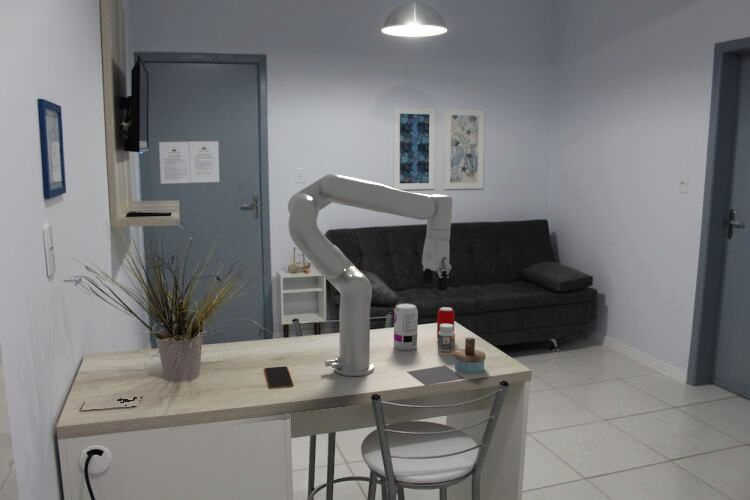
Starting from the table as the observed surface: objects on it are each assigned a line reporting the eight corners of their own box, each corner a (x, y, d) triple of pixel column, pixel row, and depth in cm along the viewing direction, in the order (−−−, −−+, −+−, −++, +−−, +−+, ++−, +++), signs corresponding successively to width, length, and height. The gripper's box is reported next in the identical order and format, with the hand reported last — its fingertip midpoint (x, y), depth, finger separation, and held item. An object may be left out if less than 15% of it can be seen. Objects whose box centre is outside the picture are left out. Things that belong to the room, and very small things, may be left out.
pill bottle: (455, 356, 212) (456, 327, 210) (438, 355, 212) (439, 327, 211) (453, 350, 218) (454, 323, 216) (436, 350, 218) (437, 322, 216)
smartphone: (268, 390, 183) (268, 387, 182) (263, 370, 198) (263, 367, 198) (294, 388, 185) (294, 385, 184) (287, 368, 200) (287, 365, 200)
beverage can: (443, 344, 224) (444, 311, 222) (433, 339, 230) (434, 307, 228) (457, 341, 227) (458, 309, 225) (447, 336, 233) (448, 305, 231)
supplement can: (391, 349, 218) (391, 308, 215) (397, 342, 226) (397, 302, 223) (413, 352, 216) (414, 310, 213) (419, 344, 223) (420, 304, 221)
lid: (465, 364, 193) (465, 345, 192) (447, 354, 202) (448, 336, 201) (491, 359, 197) (492, 341, 196) (473, 350, 206) (474, 332, 205)
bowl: (464, 375, 194) (465, 363, 194) (449, 366, 202) (449, 354, 202) (489, 371, 198) (490, 359, 197) (473, 362, 206) (473, 350, 206)
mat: (425, 386, 186) (425, 385, 186) (406, 372, 196) (406, 371, 196) (465, 379, 192) (465, 378, 191) (445, 366, 202) (445, 365, 202)
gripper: (415, 230, 204) (412, 281, 207) (441, 238, 188) (437, 293, 191) (435, 230, 207) (432, 280, 210) (462, 238, 191) (458, 292, 194)
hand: (434, 286), depth 201 cm, fingers open, 9 cm apart
